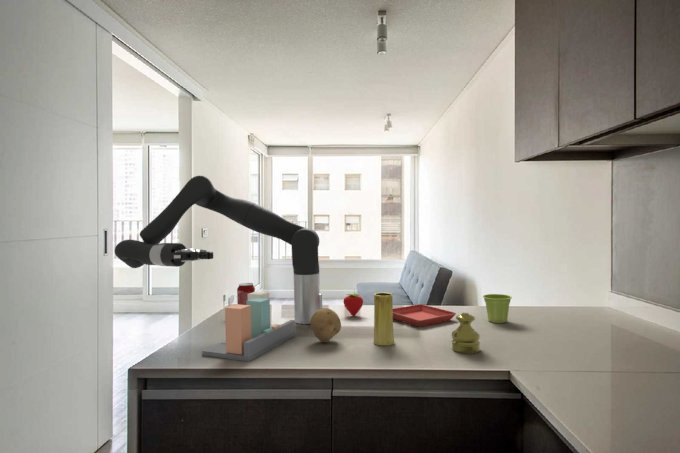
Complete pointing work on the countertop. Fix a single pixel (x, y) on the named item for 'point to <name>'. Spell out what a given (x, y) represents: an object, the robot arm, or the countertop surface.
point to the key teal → (259, 315)
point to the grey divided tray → (256, 343)
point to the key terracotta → (237, 327)
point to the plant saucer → (422, 315)
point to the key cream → (258, 295)
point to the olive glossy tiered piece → (465, 335)
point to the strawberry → (353, 303)
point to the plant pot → (497, 307)
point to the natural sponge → (325, 324)
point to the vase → (383, 319)
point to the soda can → (244, 292)
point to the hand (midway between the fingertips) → (211, 255)
